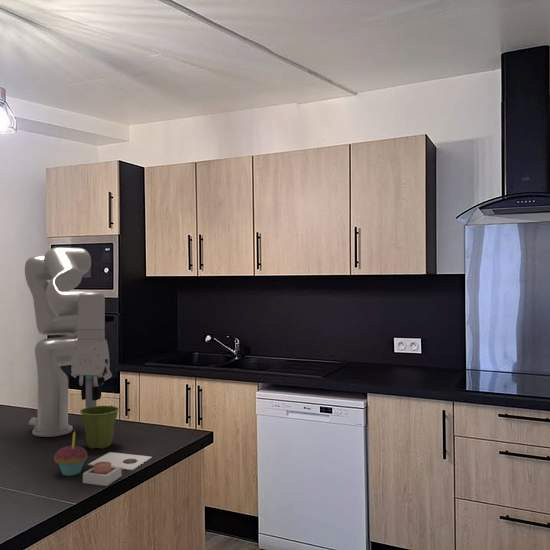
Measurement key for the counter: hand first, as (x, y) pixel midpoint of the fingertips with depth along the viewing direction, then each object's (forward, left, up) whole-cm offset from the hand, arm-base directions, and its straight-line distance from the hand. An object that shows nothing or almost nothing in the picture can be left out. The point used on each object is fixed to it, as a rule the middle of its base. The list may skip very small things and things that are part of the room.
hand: (91, 398), depth 165 cm
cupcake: (+1, -10, -18) cm, 21 cm away
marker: (0, 0, -2) cm, 2 cm away
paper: (+9, +2, -18) cm, 20 cm away
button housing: (+12, -12, -18) cm, 24 cm away
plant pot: (-5, +13, -18) cm, 23 cm away
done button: (+12, -12, -16) cm, 23 cm away
